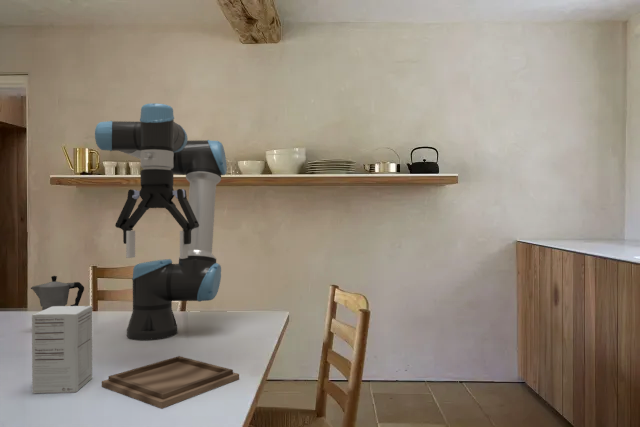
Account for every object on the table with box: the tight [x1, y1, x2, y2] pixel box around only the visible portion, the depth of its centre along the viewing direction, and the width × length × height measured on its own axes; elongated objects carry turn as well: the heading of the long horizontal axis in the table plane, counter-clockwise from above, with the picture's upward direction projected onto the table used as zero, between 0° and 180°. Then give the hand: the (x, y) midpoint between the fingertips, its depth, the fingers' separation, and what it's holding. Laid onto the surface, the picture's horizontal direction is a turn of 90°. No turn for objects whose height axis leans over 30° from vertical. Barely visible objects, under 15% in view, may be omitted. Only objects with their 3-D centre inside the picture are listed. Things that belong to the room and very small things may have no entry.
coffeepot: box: [30, 275, 85, 311], centre depth 160 cm, size 15×9×18 cm, turn 113°
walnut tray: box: [101, 355, 240, 409], centre depth 110 cm, size 21×21×2 cm
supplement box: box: [31, 305, 93, 394], centre depth 108 cm, size 10×9×17 cm
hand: (157, 258), depth 118 cm, fingers open, 13 cm apart
